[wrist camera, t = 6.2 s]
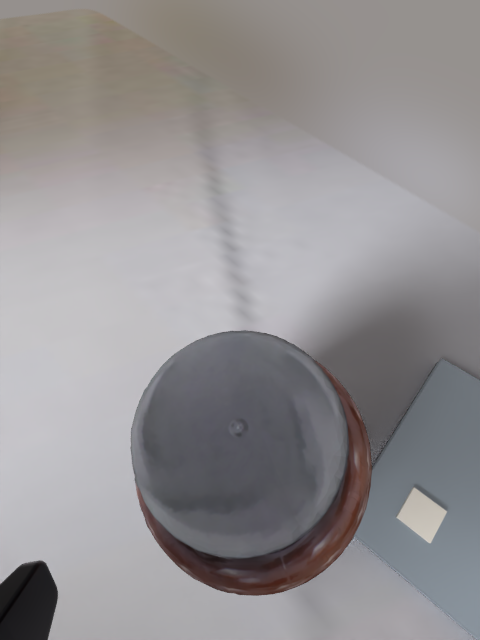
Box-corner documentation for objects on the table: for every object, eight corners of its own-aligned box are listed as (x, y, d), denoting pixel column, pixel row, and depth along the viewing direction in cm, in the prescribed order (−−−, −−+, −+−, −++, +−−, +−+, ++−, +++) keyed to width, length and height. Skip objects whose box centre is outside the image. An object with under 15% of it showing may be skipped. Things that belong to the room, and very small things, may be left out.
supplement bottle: (288, 388, 18) (298, 242, 8) (359, 508, 15) (504, 508, 5) (179, 447, 17) (44, 364, 7) (235, 583, 15) (140, 745, 5)
